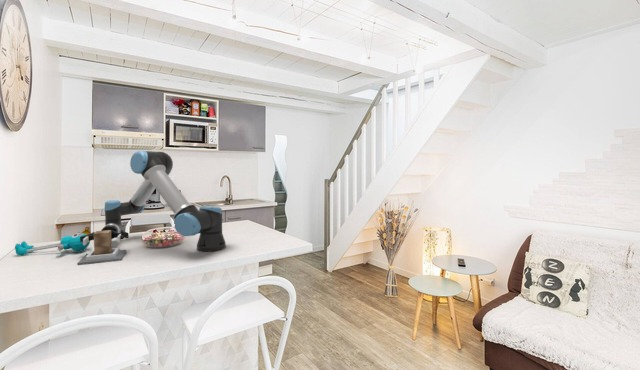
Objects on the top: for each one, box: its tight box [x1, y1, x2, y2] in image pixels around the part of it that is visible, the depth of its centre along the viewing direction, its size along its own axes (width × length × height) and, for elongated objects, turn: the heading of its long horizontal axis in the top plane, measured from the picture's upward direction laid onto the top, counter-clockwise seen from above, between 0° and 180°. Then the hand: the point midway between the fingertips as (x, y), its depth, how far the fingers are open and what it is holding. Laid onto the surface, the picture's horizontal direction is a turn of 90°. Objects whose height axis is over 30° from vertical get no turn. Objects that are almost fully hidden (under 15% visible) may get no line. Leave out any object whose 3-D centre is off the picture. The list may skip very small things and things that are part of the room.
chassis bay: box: [77, 247, 127, 266], centre depth 149 cm, size 17×15×3 cm
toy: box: [14, 232, 91, 256], centre depth 157 cm, size 22×10×30 cm
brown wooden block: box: [93, 230, 113, 255], centre depth 149 cm, size 6×6×12 cm
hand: (101, 241), depth 146 cm, fingers open, 13 cm apart
